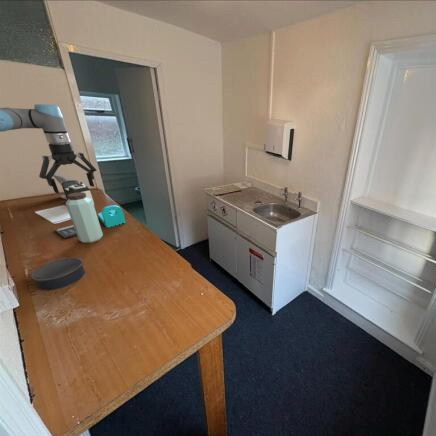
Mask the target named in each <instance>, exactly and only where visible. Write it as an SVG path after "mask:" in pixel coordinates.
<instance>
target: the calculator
mask: <svg viewBox="0 0 436 436" xmlns="http://www.w3.org/2000/svg"><path fill="white" fill-rule="evenodd" d="M54 231H55V232H56V233H57V234H58V235H60V236H61V237H63V238H64V239H69V238H73V237H76V236H77V234H76V231H75V228H74V225H73V223H72V224H69V225H65V226H62V227H58V228H54Z"/></svg>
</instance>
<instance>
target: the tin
mask: <svg viewBox="0 0 436 436" xmlns="http://www.w3.org/2000/svg"><path fill="white" fill-rule="evenodd" d="M85 273H86V270H85V268H84V266H83V261H82V259H81V258H77V257H65V258H59V259H56V260H53V261H50V262H47V263H45V264H43V265H41V266H40V267H38V268H36V269H35V270H34V271H33V272H32V274H31V278H32V279H33V280H34V281H35V284H36V285H37V287H38V289H40V290H43V291H53V290H59V289H62V288H65V287H68V286H70V285H72V284H74V283H77V282H78V281H79V280H81V279H82V278H83V277H84V275H85Z"/></svg>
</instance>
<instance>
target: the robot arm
mask: <svg viewBox="0 0 436 436" xmlns="http://www.w3.org/2000/svg"><path fill="white" fill-rule="evenodd" d="M33 107H34V108H19V107H17V108H16V107H0V132H7V131H13V130H20V129H21V130H22V129H42V131H43V134H44V137H45V140H46V142H47V144H48V148H49V150H50V154H51V155H42V157H41V158H42V165H41V167H40V172H39V175H38V176H39V178H40V179H42V180H46V181H47V185H48V186H49V187H52V189H53V192H54V193H55V194H60V191H59V188H58V185H57V183H56V179H55V178H54V176H53V175H54V174H56V172H57V171H58V169H59V168H60V167H61V166H66V165H73V164H74V165H75V166H78V167H79V168H81V169H82V170H84V171H85V172H86V173H85V175H86V177H87V178H86V179H87V181H88V184H89V186H90V187H92V188H93V187H95V184H94V181H93V180H94V179H95V176H94V172H97V169H96V168H95V167H94V165H93V164H92V163H91V162H90V161H89V160H88V159H87V158H86V157H85V155H84V153H83V152H77V153H75V152H74V148H73V145H72V143H71V139H70V135H69V133H68V130H67V127H66V123H65V120H64V116H63V114H62V111H61V109H60V107H59V106H58V105H55V104H42V103H41V104H40V103H35V104H34V105H33ZM76 158H78V159H80V160H81V162H83V163H84V164H85V165H86V166H85V165H83V164H82V163H80V162H79V161H78V160H76ZM52 160H53V161H54V162H53V164H52V166H51V167H50V169H49V166H50V162H51V161H52ZM48 169H49V170H48Z"/></svg>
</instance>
